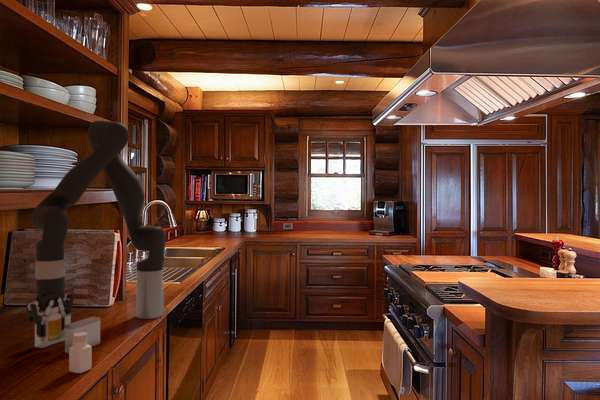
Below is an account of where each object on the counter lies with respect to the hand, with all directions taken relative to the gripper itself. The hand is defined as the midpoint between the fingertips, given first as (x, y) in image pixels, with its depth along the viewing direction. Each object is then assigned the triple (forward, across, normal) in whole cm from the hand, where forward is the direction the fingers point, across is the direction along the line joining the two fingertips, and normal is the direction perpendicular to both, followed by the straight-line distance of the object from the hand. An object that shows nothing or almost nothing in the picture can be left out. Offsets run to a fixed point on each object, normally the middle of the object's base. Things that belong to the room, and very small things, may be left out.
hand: (51, 333), depth 131 cm
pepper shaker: (+5, +7, +19) cm, 21 cm away
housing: (+5, -6, 0) cm, 8 cm away
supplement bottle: (+2, 0, 0) cm, 2 cm away
